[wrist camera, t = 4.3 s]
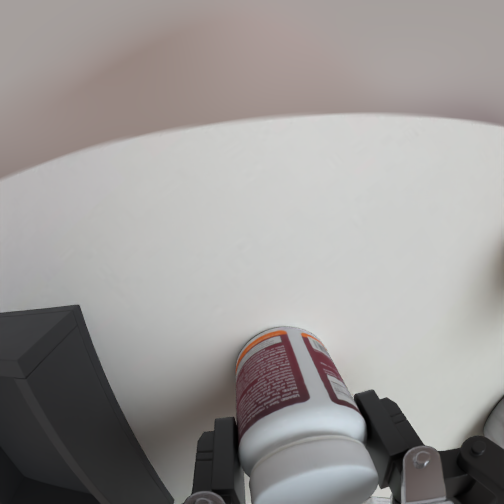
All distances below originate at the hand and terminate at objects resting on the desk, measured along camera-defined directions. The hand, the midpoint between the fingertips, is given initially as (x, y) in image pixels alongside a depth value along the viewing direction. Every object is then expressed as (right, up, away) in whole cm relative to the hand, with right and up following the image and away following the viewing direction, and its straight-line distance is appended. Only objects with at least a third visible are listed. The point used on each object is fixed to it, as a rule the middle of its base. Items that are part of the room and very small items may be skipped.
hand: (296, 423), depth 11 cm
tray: (-17, -6, +5) cm, 19 cm away
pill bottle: (0, +1, +4) cm, 5 cm away
